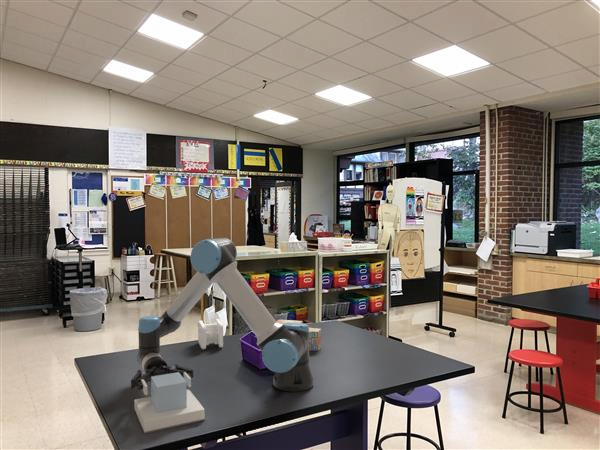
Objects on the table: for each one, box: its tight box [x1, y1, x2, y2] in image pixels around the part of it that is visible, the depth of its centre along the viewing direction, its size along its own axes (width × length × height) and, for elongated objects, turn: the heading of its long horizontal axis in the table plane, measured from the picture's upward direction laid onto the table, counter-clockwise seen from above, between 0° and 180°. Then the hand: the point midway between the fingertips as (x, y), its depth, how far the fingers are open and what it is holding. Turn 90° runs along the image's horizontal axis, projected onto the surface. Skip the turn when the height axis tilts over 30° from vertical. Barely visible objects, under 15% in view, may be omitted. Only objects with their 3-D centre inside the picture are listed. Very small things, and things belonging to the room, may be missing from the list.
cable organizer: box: [197, 318, 224, 350], centre depth 221 cm, size 15×11×12 cm
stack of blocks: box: [275, 319, 322, 352], centre depth 219 cm, size 21×6×12 cm, turn 73°
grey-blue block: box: [150, 372, 188, 413], centre depth 147 cm, size 10×9×10 cm
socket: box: [134, 389, 206, 434], centre depth 147 cm, size 18×18×4 cm
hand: (168, 386), depth 146 cm, fingers open, 13 cm apart
